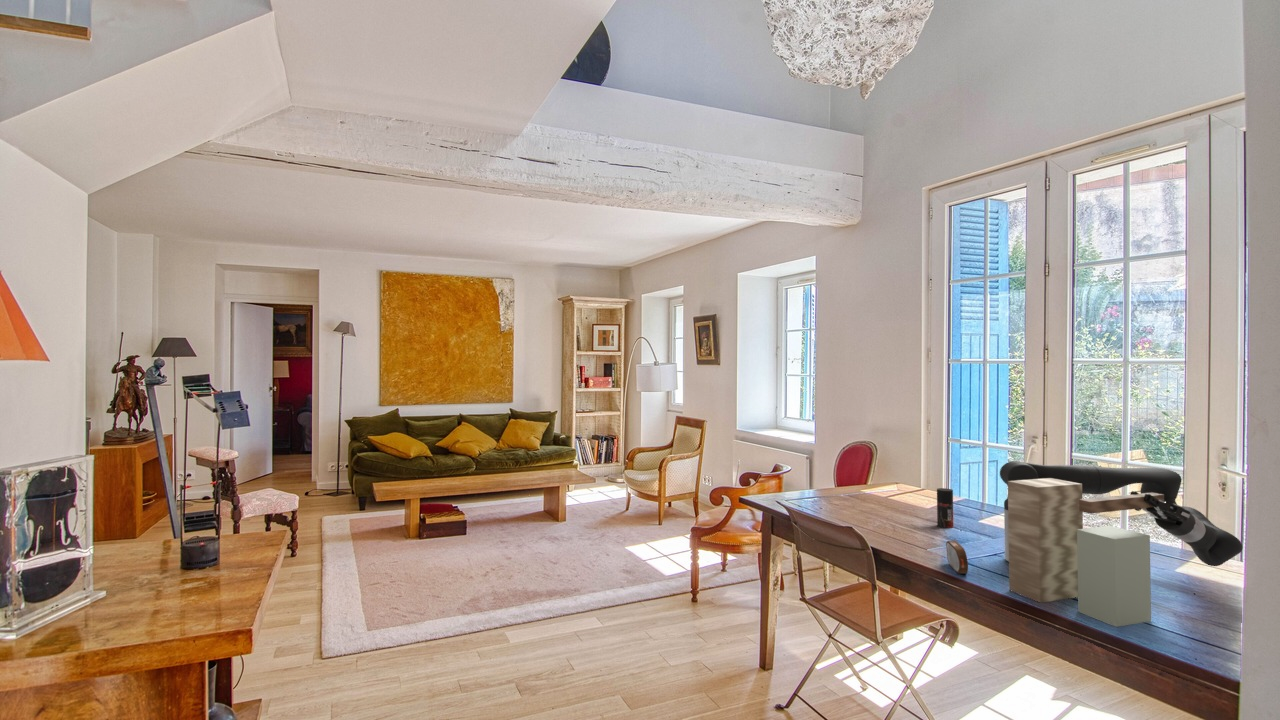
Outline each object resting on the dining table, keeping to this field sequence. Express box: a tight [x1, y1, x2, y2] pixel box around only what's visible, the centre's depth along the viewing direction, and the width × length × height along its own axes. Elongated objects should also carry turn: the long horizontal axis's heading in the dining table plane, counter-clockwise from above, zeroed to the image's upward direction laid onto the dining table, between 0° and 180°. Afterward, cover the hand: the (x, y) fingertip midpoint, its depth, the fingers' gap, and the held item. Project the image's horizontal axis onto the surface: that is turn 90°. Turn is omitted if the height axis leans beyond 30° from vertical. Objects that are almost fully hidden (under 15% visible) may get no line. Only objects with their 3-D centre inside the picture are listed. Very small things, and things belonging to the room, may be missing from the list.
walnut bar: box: [1079, 493, 1164, 515], centre depth 164 cm, size 26×3×3 cm, turn 106°
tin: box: [945, 539, 969, 575], centre depth 201 cm, size 15×3×8 cm, turn 168°
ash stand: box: [1007, 478, 1084, 603], centre depth 180 cm, size 16×10×32 cm, turn 106°
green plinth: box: [1077, 525, 1152, 628], centre depth 163 cm, size 12×10×22 cm
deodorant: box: [936, 487, 954, 529], centre depth 255 cm, size 6×6×15 cm
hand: (1139, 495), depth 166 cm, fingers closed on walnut bar, 3 cm apart
